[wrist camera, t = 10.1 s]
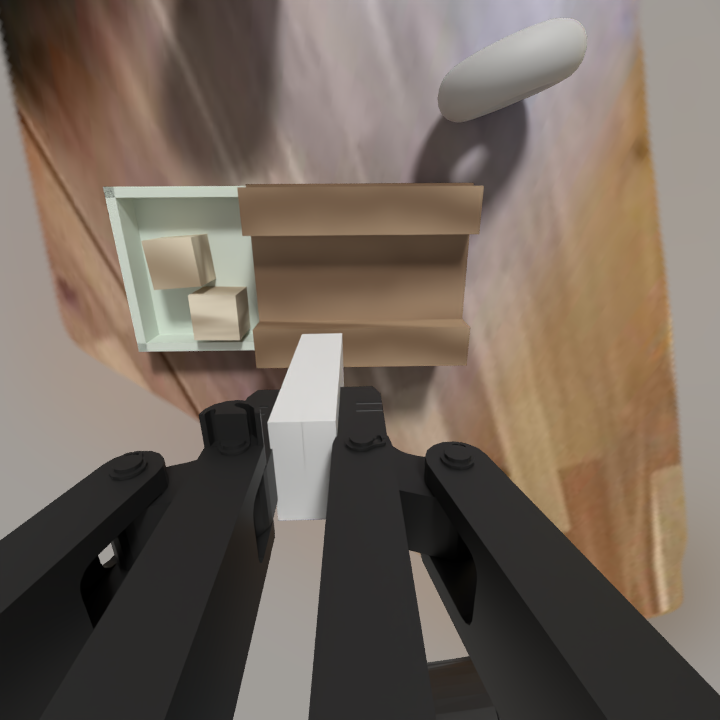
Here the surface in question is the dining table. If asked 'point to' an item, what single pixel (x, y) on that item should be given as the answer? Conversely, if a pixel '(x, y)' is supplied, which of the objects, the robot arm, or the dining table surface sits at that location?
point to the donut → (513, 69)
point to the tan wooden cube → (179, 261)
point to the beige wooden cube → (219, 313)
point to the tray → (178, 218)
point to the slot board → (362, 269)
